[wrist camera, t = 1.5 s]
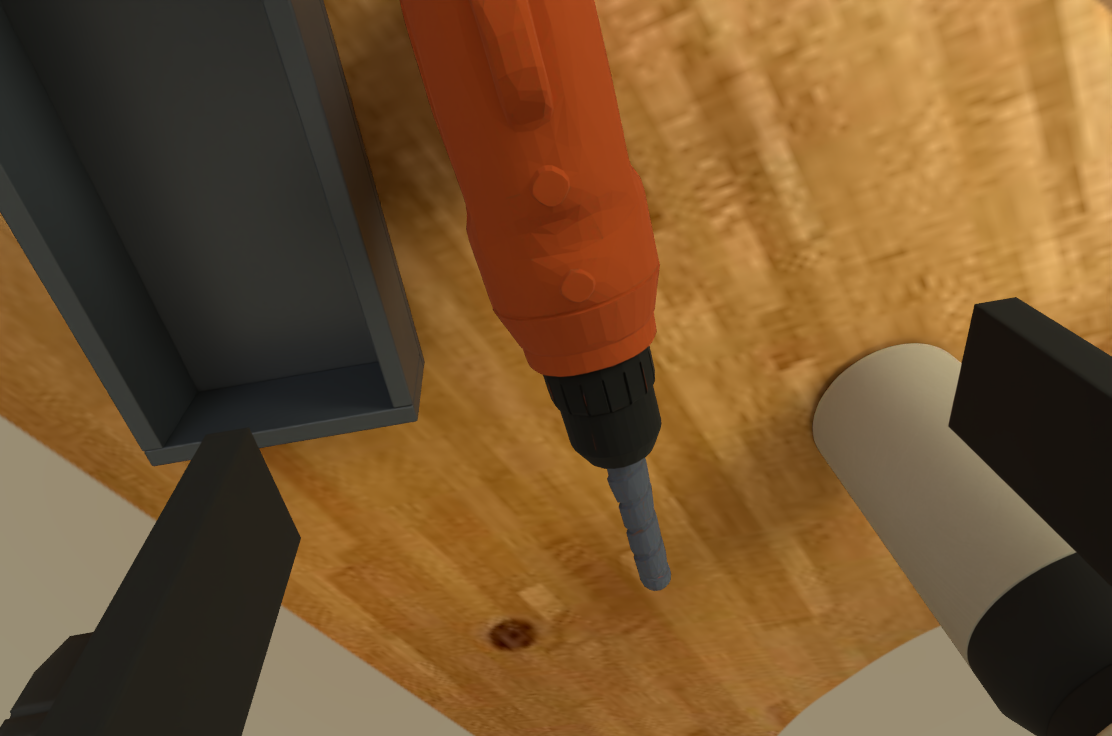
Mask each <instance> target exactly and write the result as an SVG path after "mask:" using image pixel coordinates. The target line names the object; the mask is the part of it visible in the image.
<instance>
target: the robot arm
mask: <svg viewBox="0 0 1112 736" xmlns="http://www.w3.org/2000/svg"><path fill="white" fill-rule="evenodd" d="M948 427H949V428H950V429H951V430H952V431H953V432H954V433H955V434H956V435H957V436H958V437H960V438H961V439H962V440H963V441H964V442H965V443H966V444H967V445H968V446H969V447H970V448H971V449H972V450H973V451H974V452H975V453H976V454H977V455H978V456H979V457H980V458H981V459H982V460H983V461H984V462H985V463H986V464H987V465H988V466H989V467H990V468H991V469H992V470H993V471H994V472H995V473H996V474H997V475H998V476H999V477H1000V478H1001V479H1002V480H1003V481H1004V482H1005V483H1006V484H1007V485H1008V486H1009V487H1010V488H1011V489H1012V490H1013V491H1014V492H1015V493H1017V494H1018V495H1019V496H1020V497H1021V498H1022V499H1023V500H1024V501H1025V502H1026V503H1027V504H1028V505H1029V506H1030V507H1031V508H1032V509H1033V510H1034V511H1035V512H1036V513H1037V514H1038V515H1039V516H1040V517H1041V518H1042V519H1043V520H1044V521H1045V522H1046V523H1047V524H1048V525H1049V526H1050V527H1051V528H1052V529H1053V530H1054V531H1055V532H1056V533H1057V534H1058V535H1059V536H1060V537H1061V538H1062V539H1063V540H1064V541H1065V542H1066V543H1067V544H1068V545H1069V546H1070V547H1071V548H1073V549H1074V550H1075V551H1076V552H1077V553H1078V554H1079V555H1080V556H1081V557H1082V558H1083V559H1084V560H1085V561H1086V562H1087V563H1088V564H1089V565H1090V566H1091V567H1092V568H1093V569H1094V570H1095V571H1096V572H1097V573H1098V574H1099V575H1100V576H1101V577H1102V578H1103V579H1104V580H1105V581H1106V582H1107V583H1108V584H1109V585H1110V586H1111V587H1112V356H1110V355H1108V354H1107V353H1105V352H1103V351H1102V350H1100V349H1099V348H1097V347H1095V346H1094V345H1092V344H1091V343H1089V342H1087V341H1086V340H1084V339H1083V338H1081V337H1079V336H1078V335H1076V334H1074V333H1073V332H1071V331H1070V330H1068V329H1066V328H1065V327H1063V326H1062V325H1060V324H1058V323H1057V322H1055V321H1054V320H1052V319H1050V318H1049V317H1047V316H1045V315H1044V314H1042V313H1041V312H1039V311H1037V310H1036V309H1034V308H1033V307H1031V306H1029V305H1028V304H1026V303H1025V302H1023V301H1021V300H1020V299H1018V298H1016V297H1015V298H1009V299H1003V300H997V301H991V302H985V303H979V304H975V305H974V310H973V314H972V319H971V323H970V328H969V332H968V337H967V342H966V346H965V351H964V355H963V360H962V364H961V369H960V374H959V378H958V383H957V387H956V392H955V396H954V401H953V406H952V410H951V415H950V419H949V424H948ZM300 539H301V537H300V535H299V533H298V531H297V529H296V527H295V524H294V522H293V520H292V518H291V516H290V514H289V512H288V509H287V507H286V505H285V503H284V501H283V499H282V497H281V495H280V492H279V490H278V488H277V486H276V484H275V482H274V480H273V477H272V475H271V473H270V471H269V469H268V467H267V465H266V463H265V460H264V458H263V456H262V454H261V452H260V450H259V448H258V445H257V443H256V441H255V439H254V437H253V435H252V433H251V431H250V428H249V427H248V428H242V429H236V430H230V431H224V432H218V433H212V434H207V435H205V437H204V439H203V440H202V442H201V444H200V446H199V447H198V449H197V451H196V453H195V454H194V456H193V458H192V460H191V461H190V463H189V465H188V467H187V469H186V470H185V472H184V474H183V476H182V477H181V479H180V481H179V483H178V484H177V486H176V488H175V490H174V491H173V493H172V495H171V497H170V498H169V500H168V502H167V504H166V506H165V507H164V509H163V511H162V513H161V514H160V516H159V518H158V520H157V521H156V523H155V525H154V527H153V528H152V530H151V532H150V534H149V536H148V537H147V539H146V541H145V543H144V545H143V546H142V548H141V550H140V551H139V553H138V555H137V557H136V558H135V560H134V562H133V564H132V566H131V567H130V569H129V571H128V573H127V574H126V576H125V578H124V580H123V581H122V583H121V585H120V587H119V588H118V590H117V592H116V594H115V595H114V597H113V599H112V601H111V603H110V604H109V606H108V608H107V610H106V612H105V613H104V615H103V617H102V618H101V620H100V622H99V624H98V626H97V627H96V629H95V631H94V632H91V633H86V634H80V635H74V636H70V637H69V638H68V639H67V640H66V641H65V642H64V643H63V644H62V645H61V646H60V647H59V648H58V649H57V650H56V651H55V652H54V653H53V654H52V655H51V656H50V657H49V658H48V659H47V660H46V661H45V662H44V663H43V664H42V665H41V666H40V667H39V668H38V669H37V670H36V671H35V672H34V674H33V676H32V677H31V679H30V680H29V682H28V683H27V685H26V687H25V688H24V690H23V691H22V693H21V695H20V696H19V698H18V700H17V701H16V703H15V704H14V706H13V708H12V710H11V711H10V713H11V716H10V718H9V719H6V720H5V721H4V722H3V724H2V725H1V727H0V736H242V732H243V729H244V726H245V722H246V719H247V716H248V712H249V709H250V706H251V702H252V699H253V696H254V692H255V689H256V686H257V682H258V679H259V676H260V672H261V669H262V666H263V662H264V659H265V656H266V652H267V649H268V646H269V642H270V639H271V636H272V632H273V629H274V626H275V623H276V619H277V616H278V613H279V609H280V606H281V603H282V599H283V596H284V593H285V589H286V586H287V583H288V579H289V576H290V573H291V569H292V566H293V563H294V559H295V556H296V553H297V549H298V546H299V543H300Z"/></svg>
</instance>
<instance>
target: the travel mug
mask: <svg viewBox="0 0 1112 736" xmlns="http://www.w3.org/2000/svg"><path fill="white" fill-rule="evenodd" d="M961 364H962V363H960V362H959V361H958V360H957V359H956V358H954V357H953V356H952V355H951V354H949V353H948V352H946V351H945V350H943V349H941V348H938V347H936V346H932V345H927V344H917V343H913V344H901V345H896V346H891V347H888V348H885V349H882V350H879V351H876V352H874V353H872V354H870V355H868V356H866V357H864V358H862V359H860V360H859V361H857V362H856V363H854V364H853V365H851V366H850V367H849V368H847V369H846V370H845V371H844V372H843V373H841V374H840V375H839V376H838V377H837V378H836V379H835V380H834V381H833V383H832V384H831V385H830V386H829V387H828V389H827V390H826V392H825V393H824V395H823V396H822V398H821V400H820V402H819V404H818V406H817V409H816V411H815V415H814V420H813V437H814V441H815V444H816V446H817V448H818V450H819V451H820V453H821V454H822V456H823V457H824V459H825V460H826V461H827V463H828V464H829V466H830V467H831V469H832V470H833V471H834V473H835V474H836V476H837V477H838V479H839V480H840V481H841V483H842V484H843V486H844V487H845V489H846V490H847V492H848V493H849V494H850V496H851V497H852V499H853V500H854V502H855V503H856V504H857V506H858V507H859V509H860V510H861V512H862V513H863V514H864V516H865V517H866V519H867V520H868V522H869V523H870V525H871V526H872V527H873V529H874V530H875V532H876V533H877V535H878V536H879V537H880V539H881V540H882V542H883V543H884V545H885V546H886V548H887V549H888V550H889V552H890V553H891V555H892V556H893V558H894V559H895V560H896V562H897V563H898V565H899V566H900V568H901V569H902V570H903V572H904V573H905V575H906V576H907V578H908V579H909V581H910V582H911V583H912V585H913V586H914V588H915V589H916V591H917V592H918V593H919V595H920V596H921V598H922V599H923V601H924V602H925V603H926V605H927V606H928V608H929V609H930V611H931V612H932V614H933V615H934V616H935V618H936V619H937V621H938V622H939V624H940V625H941V626H942V628H943V629H944V631H945V632H946V634H947V635H948V636H949V638H950V639H951V641H952V642H953V643H954V645H955V647H956V648H957V649H958V651H959V652H960V654H961V655H962V656H963V658H964V659H965V661H966V662H967V664H968V665H969V666H970V668H971V669H972V671H973V672H974V674H975V675H976V677H977V678H978V680H979V681H980V682H981V684H982V685H983V687H984V688H985V690H986V691H987V692H988V694H989V695H990V697H991V698H992V700H993V701H994V703H995V704H996V705H997V707H998V708H999V709H1000V711H1001V712H1002V713H1003V714H1004V715H1005V716H1006V717H1008V718H1009V719H1011V720H1012V721H1014V722H1016V723H1017V724H1019V725H1020V726H1022V727H1024V728H1025V729H1027V730H1028V731H1030V732H1031V733H1033V734H1035V735H1037V736H1112V587H1111V586H1110V585H1109V584H1108V583H1107V582H1106V581H1105V580H1104V579H1103V578H1102V577H1101V576H1100V575H1099V574H1098V573H1097V572H1096V571H1095V570H1094V569H1093V568H1092V567H1091V566H1090V565H1089V564H1088V563H1087V562H1086V561H1085V560H1084V559H1083V558H1082V557H1081V556H1080V555H1079V554H1078V553H1077V552H1076V551H1075V550H1074V549H1073V548H1071V547H1070V546H1069V545H1068V544H1067V543H1066V542H1065V541H1064V540H1063V539H1062V538H1061V537H1060V536H1059V535H1058V534H1057V533H1056V532H1055V531H1054V530H1053V529H1052V528H1051V527H1050V526H1049V525H1048V524H1047V523H1046V522H1045V521H1044V520H1043V519H1042V518H1041V517H1040V516H1039V515H1038V514H1037V513H1036V512H1035V511H1034V510H1033V509H1032V508H1031V507H1030V506H1029V505H1028V504H1027V503H1026V502H1025V501H1024V500H1023V499H1022V498H1021V497H1020V496H1019V495H1018V494H1017V493H1015V492H1014V491H1013V490H1012V489H1011V488H1010V487H1009V486H1008V485H1007V484H1006V483H1005V482H1004V481H1003V480H1002V479H1001V478H1000V477H999V476H998V475H997V474H996V473H995V472H994V471H993V470H992V469H991V468H990V467H989V466H988V465H987V464H986V463H985V462H984V461H983V460H982V459H981V458H980V457H979V456H978V455H977V454H976V453H975V452H974V451H973V450H972V449H971V448H970V447H969V446H968V445H967V444H966V443H965V442H964V441H963V440H962V439H961V438H960V437H958V436H957V435H956V434H955V433H954V432H953V431H952V430H951V429H950V428H949V427H948V424H949V419H950V415H951V410H952V406H953V401H954V396H955V392H956V387H957V383H958V378H959V374H960V369H961Z"/></svg>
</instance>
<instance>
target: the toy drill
mask: <svg viewBox="0 0 1112 736" xmlns="http://www.w3.org/2000/svg"><path fill="white" fill-rule="evenodd" d="M400 4H401V8H402V12H403V16H404V21H405V25H406V28H407V31H408V35H409V38H410V41H411V44H412V48H413V51H414V54H415V57H416V61H417V64H418V67H419V70H420V74H421V77H422V80H423V83H424V87H425V90H426V93H427V97H428V100H429V103H430V106H431V110H432V113H433V116H434V119H435V122H436V124H437V127H438V130H439V132H440V135H441V137H442V140H443V143H444V145H445V148H446V151H447V153H448V156H449V159H450V161H451V164H452V167H453V169H454V172H455V175H456V178H457V180H458V183H459V186H460V189H461V191H462V194H463V197H464V200H465V204H466V211H467V226H466V230H467V234H468V238H469V242H470V245H471V247H472V250H473V253H474V256H475V259H476V262H477V265H478V267H479V270H480V273H481V276H482V279H483V282H484V285H485V287H486V290H487V293H488V296H489V299H490V302H491V304H492V307H493V310H494V312H495V314H496V315H497V316H498V318H499V319H500V320H501V322H502V323H503V324H504V325H505V327H506V328H507V329H508V331H509V332H510V333H511V335H512V336H513V337H514V339H515V340H516V341H517V343H518V344H519V345H520V346H521V348H523V351H524V353H525V356H526V359H527V361H528V363H529V365H530V367H531V368H532V369H534V370H535V371H537V372H538V373H540V374H543V376H544V379H545V382H546V385H547V389H548V391H549V394H550V397H551V399H552V401H553V402H554V404H555V406H556V407H557V408H558V409H559V410H560V411H561V414H562V418H563V421H564V424H565V427H566V430H567V433H568V436H569V440H570V443H571V445H572V447H573V448H574V449H575V451H577V452H578V453H579V454H580V455H582V456H583V457H584V458H585V459H586V460H588V461H589V462H590V463H591V464H593V465H594V466H597V467H601V468H604V469H607V471H608V475H609V476H608V478H607V480H608V483H609V486H610V488H611V490H612V492H613V494H614V496H615V498H616V500H617V502H620V504H619V509H620V513H621V516H622V519H623V523H624V526H625V527H626V528H627V529H628V530H627V536H628V540H629V544H630V548H631V550H632V552H633V553H634V560H635V563H636V566H637V569H638V572H639V576H640V580H641V581H642V583H643V585H644V586H645V587H647V588H648V589H650V590H653V591H657V590H662V589H664V588H665V587H666V586H667V585H668V584H669V582H670V580H671V572H670V568H669V565H668V563H667V558H666V551H665V547H664V543H663V540H662V537H661V533H660V528H659V524H658V520H657V516H656V512H655V510H654V504H653V496H652V488H651V483H650V480H649V474H648V468H647V463H646V459H645V457H646V456H647V455H648V454H649V453H650V452H651V451H652V449H653V447H654V445H655V442H656V439H657V436H658V434H659V431H660V428H661V417H660V413H659V409H658V404H657V400H656V396H655V392H654V388H653V384H654V382H655V369H654V364H653V360H652V355H651V351H650V346H649V345H650V344H651V343H652V341H653V339H654V337H655V334H656V332H657V331H656V323H655V318H654V310H655V302H656V293H657V284H658V276H659V267H660V264H659V259H658V254H657V249H656V245H655V240H654V235H653V230H652V225H651V220H650V215H649V210H648V205H647V200H646V195H645V190H644V187H643V184H642V181H641V178H640V176H639V175H638V174H637V172H636V171H635V170H634V168H633V167H632V166H631V164H630V162H629V158H628V153H627V149H626V144H625V139H624V134H623V128H622V124H621V119H620V115H619V110H618V105H617V100H616V95H615V91H614V86H613V81H612V77H611V72H610V68H609V63H608V59H607V55H606V50H605V46H604V42H603V37H602V33H601V28H600V24H599V20H598V15H597V11H596V6H595V2H594V0H400Z"/></svg>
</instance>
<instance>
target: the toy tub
mask: <svg viewBox="0 0 1112 736" xmlns="http://www.w3.org/2000/svg"><path fill="white" fill-rule="evenodd" d="M0 212H1V214H2V216H3V217H4V219H5V221H6V222H7V224H8V226H9V227H10V229H11V231H12V232H13V234H14V236H15V237H16V239H17V241H18V243H19V244H20V246H21V248H22V249H23V251H24V253H25V254H26V256H27V258H28V259H29V261H30V263H31V264H32V266H33V268H34V269H35V271H36V273H37V274H38V276H39V278H40V279H41V281H42V283H43V285H44V286H45V288H46V290H47V291H48V293H49V295H50V296H51V298H52V300H53V301H54V303H55V305H56V306H57V308H58V310H59V311H60V313H61V315H62V316H63V318H64V320H65V321H66V323H67V325H68V326H69V328H70V330H71V332H72V333H73V335H74V337H75V338H76V340H77V342H78V343H79V345H80V347H81V348H82V350H83V352H84V353H85V355H86V357H87V358H88V360H89V362H90V363H91V365H92V367H93V368H94V370H95V372H96V373H97V375H98V377H99V379H100V380H101V382H102V384H103V385H104V387H105V389H106V390H107V392H108V394H109V395H110V397H111V399H112V400H113V402H114V404H115V405H116V407H117V409H118V410H119V412H120V414H121V415H122V417H123V419H124V421H125V422H126V424H127V426H128V427H129V429H130V431H131V432H132V434H133V436H134V437H135V439H136V441H137V442H138V444H139V446H140V447H141V449H142V451H145V455H146V456H147V458H148V460H149V461H150V463H151V465H152V466H158V465H164V464H170V463H175V462H181V461H187V460H192V458H193V456H194V454H195V453H196V451H197V449H198V447H199V446H200V444H201V442H202V440H203V439H204V437H205V435H207V434H212V433H218V432H224V431H230V430H236V429H242V428H248V427H249V428H250V431H251V433H252V435H253V437H254V439H255V441H256V443H257V445H258V448H263V447H269V446H275V445H281V444H286V443H292V442H298V441H304V440H310V439H316V438H321V437H327V436H333V435H339V434H345V433H351V432H356V431H362V430H368V429H374V428H380V427H386V426H392V425H397V424H403V423H409V422H415V421H417V420H418V412H419V404H420V395H421V386H422V377H423V369H424V358H423V355H422V351H421V348H420V344H419V340H418V337H417V333H416V330H415V326H414V323H413V319H412V315H411V312H410V308H409V305H408V301H407V298H406V294H405V290H404V287H403V283H402V280H401V276H400V273H399V269H398V265H397V262H396V258H395V255H394V251H393V247H392V244H391V240H390V237H389V233H388V230H387V226H386V222H385V219H384V215H383V212H382V208H381V205H380V201H379V197H378V194H377V190H376V187H375V183H374V180H373V176H372V172H371V169H370V165H369V162H368V158H367V155H366V151H365V147H364V144H363V140H362V137H361V133H360V130H359V126H358V122H357V119H356V115H355V112H354V108H353V105H352V101H351V97H350V94H349V90H348V87H347V83H346V80H345V76H344V72H343V69H342V65H341V62H340V58H339V55H338V51H337V47H336V44H335V40H334V37H333V33H332V30H331V26H330V22H329V19H328V15H327V12H326V8H325V5H324V1H323V0H0Z"/></svg>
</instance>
